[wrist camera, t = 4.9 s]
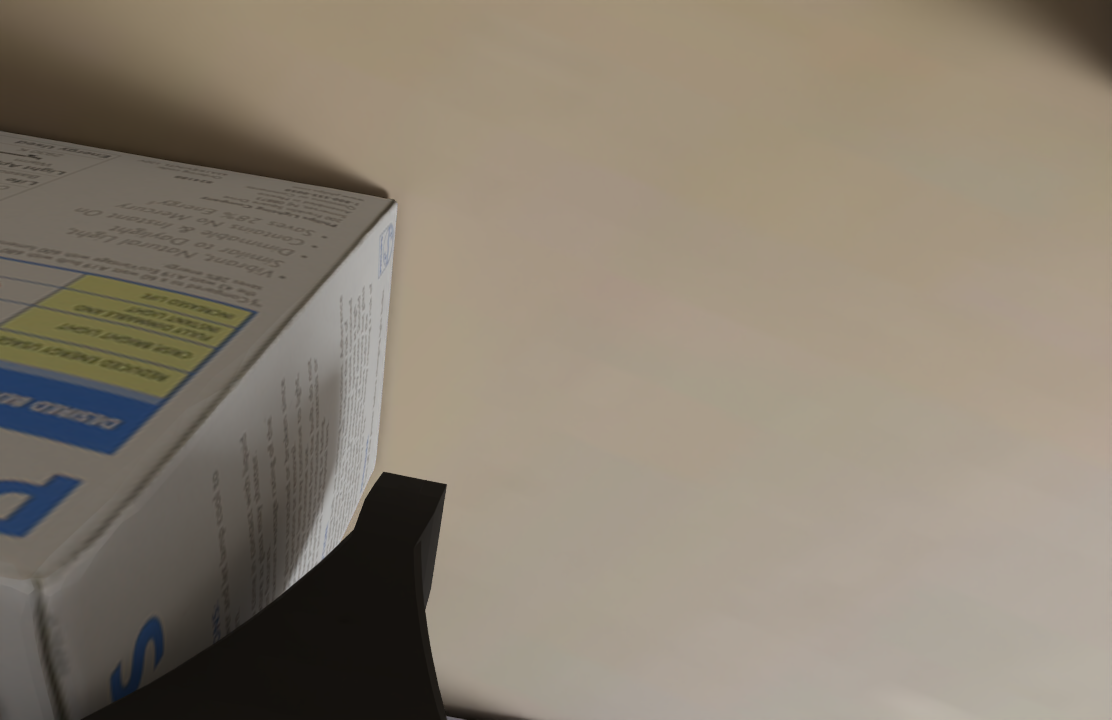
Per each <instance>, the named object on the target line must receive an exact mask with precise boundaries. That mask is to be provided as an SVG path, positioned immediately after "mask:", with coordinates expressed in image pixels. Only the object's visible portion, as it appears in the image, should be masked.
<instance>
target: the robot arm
mask: <svg viewBox="0 0 1112 720" xmlns="http://www.w3.org/2000/svg"><path fill="white" fill-rule="evenodd" d="M446 486H447V484H442V483H437V482H432V481H427V480H422V479H417V478H412V477H407V476H402V475H397V474H392V473H387V472H383V473H382V475H381V476H380V477H379V479H378V480H377V482H376V483H375V484H374V486H373V487H372V489H371V491H370V492H369V494H368V495H367V497H366V499H365V501H364V504H363V506H362V509H361V512H360V514H359V517H358V520H357V523H356V525H355V528H354V530H353V531H352V532H351V533H350V534H349V535H348V536H347V537H346V538H345V539H344V540H342V541H341V542H340V543H339V544H338V545H337V546H336V547H335V548H334V549H333V550H332V551H331V552H330V553H329V554H328V555H327V556H326V557H325V558H324V559H322V560H321V561H320V562H319V563H318V564H317V565H316V566H315V567H313V568H312V569H311V570H310V571H309V572H307V573H306V574H305V575H304V576H303V577H302V578H300V579H299V580H298V581H297V582H296V583H294V584H293V585H292V586H291V587H290V588H288V589H287V590H286V591H285V592H284V593H282V594H281V595H280V596H279V597H278V598H276V599H275V600H274V601H273V602H271V603H270V604H269V605H267V606H266V607H265V608H263V609H262V610H261V611H260V612H258V613H257V614H255V615H254V616H253V617H251V618H250V619H249V620H247V621H246V622H245V623H243V624H242V625H240V626H239V627H237V628H236V629H235V630H233V631H232V632H230V633H229V634H227V635H226V636H225V637H223V638H222V639H220V640H219V641H217V642H216V643H214V644H213V645H211V646H209V647H208V648H206V649H205V650H203V651H202V652H200V653H198V654H197V655H195V656H194V657H192V658H190V659H189V660H187V661H186V662H184V663H183V664H181V665H179V666H178V667H176V668H175V669H173V670H171V671H170V672H168V673H166V674H164V675H163V676H161V677H159V678H158V679H156V680H154V681H152V682H151V683H149V684H147V685H145V686H144V687H142V688H140V689H138V690H136V691H134V692H132V693H130V694H128V695H126V696H125V697H123V698H121V699H119V700H117V701H115V702H113V703H111V704H109V705H107V706H105V707H104V708H102V709H100V710H98V711H96V712H94V713H92V714H90V715H88V716H86V717H84V718H83V719H81V720H465V719H460V718H454V717H449V716H446V713H445V709H444V706H443V702H442V698H441V694H440V690H439V686H438V681H437V677H436V672H435V667H434V663H433V658H432V652H431V647H430V641H429V635H428V628H427V621H426V613H425V609H426V605H427V602H428V598H429V594H430V590H431V584H432V578H433V571H434V565H435V558H436V552H437V545H438V539H439V532H440V526H441V519H442V513H443V506H444V499H445V493H446Z"/></svg>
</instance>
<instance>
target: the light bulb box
mask: <svg viewBox="0 0 1112 720" xmlns="http://www.w3.org/2000/svg"><path fill="white" fill-rule="evenodd" d="M397 205H398V204H397V202H396V201H395V200H394V199H386V198H381V197H376V196H371V195H366V194H360V193H354V192H349V191H343V190H338V189H333V188H327V187H321V186H315V185H309V184H302V183H297V182H291V181H286V180H280V179H274V178H268V177H263V176H257V175H251V174H245V173H239V172H233V171H228V170H222V169H216V168H209V167H203V166H197V165H191V164H185V163H179V162H174V161H168V160H162V159H157V158H151V157H146V156H140V155H134V154H129V153H123V152H117V151H112V150H106V149H100V148H95V147H89V146H84V145H78V144H73V143H67V142H61V141H55V140H49V139H43V138H37V137H32V136H26V135H21V134H15V133H9V132H3V131H0V720H81V719H83V718H84V717H86V716H88V715H90V714H92V713H94V712H96V711H98V710H100V709H102V708H104V707H105V706H107V705H109V704H111V703H113V702H115V701H117V700H119V699H121V698H123V697H125V696H126V695H128V694H130V693H132V692H134V691H136V690H138V689H140V688H142V687H144V686H145V685H147V684H149V683H151V682H152V681H154V680H156V679H158V678H159V677H161V676H163V675H164V674H166V673H168V672H170V671H171V670H173V669H175V668H176V667H178V666H179V665H181V664H183V663H184V662H186V661H187V660H189V659H190V658H192V657H194V656H195V655H197V654H198V653H200V652H202V651H203V650H205V649H206V648H208V647H209V646H211V645H213V644H214V643H216V642H217V641H219V640H220V639H222V638H223V637H225V636H226V635H227V634H229V633H230V632H232V631H233V630H235V629H236V628H237V627H239V626H240V625H242V624H243V623H245V622H246V621H247V620H249V619H250V618H251V617H253V616H254V615H255V614H257V613H258V612H260V611H261V610H262V609H263V608H265V607H266V606H267V605H269V604H270V603H271V602H273V601H274V600H275V599H276V598H278V597H279V596H280V595H281V594H282V593H284V592H285V591H286V590H287V589H288V588H290V587H291V586H292V585H293V584H294V583H296V582H297V581H298V580H299V579H300V578H302V577H303V576H304V575H305V574H306V573H307V572H309V571H310V570H311V569H312V568H313V567H315V566H316V565H317V564H318V563H319V562H320V561H321V560H322V559H324V558H325V557H326V556H327V555H328V554H329V553H330V552H331V551H332V550H333V549H334V548H335V547H336V546H337V545H338V544H339V543H340V541H341V539H342V537H343V535H344V533H345V531H346V529H347V526H348V524H349V522H350V520H351V518H352V516H353V514H354V511H355V509H356V507H357V505H358V503H359V500H360V498H361V496H362V493H363V491H364V489H365V487H366V485H367V482H368V480H369V478H370V476H371V474H372V472H373V470H374V467H375V462H376V455H377V445H378V434H379V423H380V411H381V400H382V388H383V376H384V363H385V350H386V338H387V325H388V313H389V302H390V290H391V278H392V265H393V253H394V241H395V229H396V218H397Z"/></svg>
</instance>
